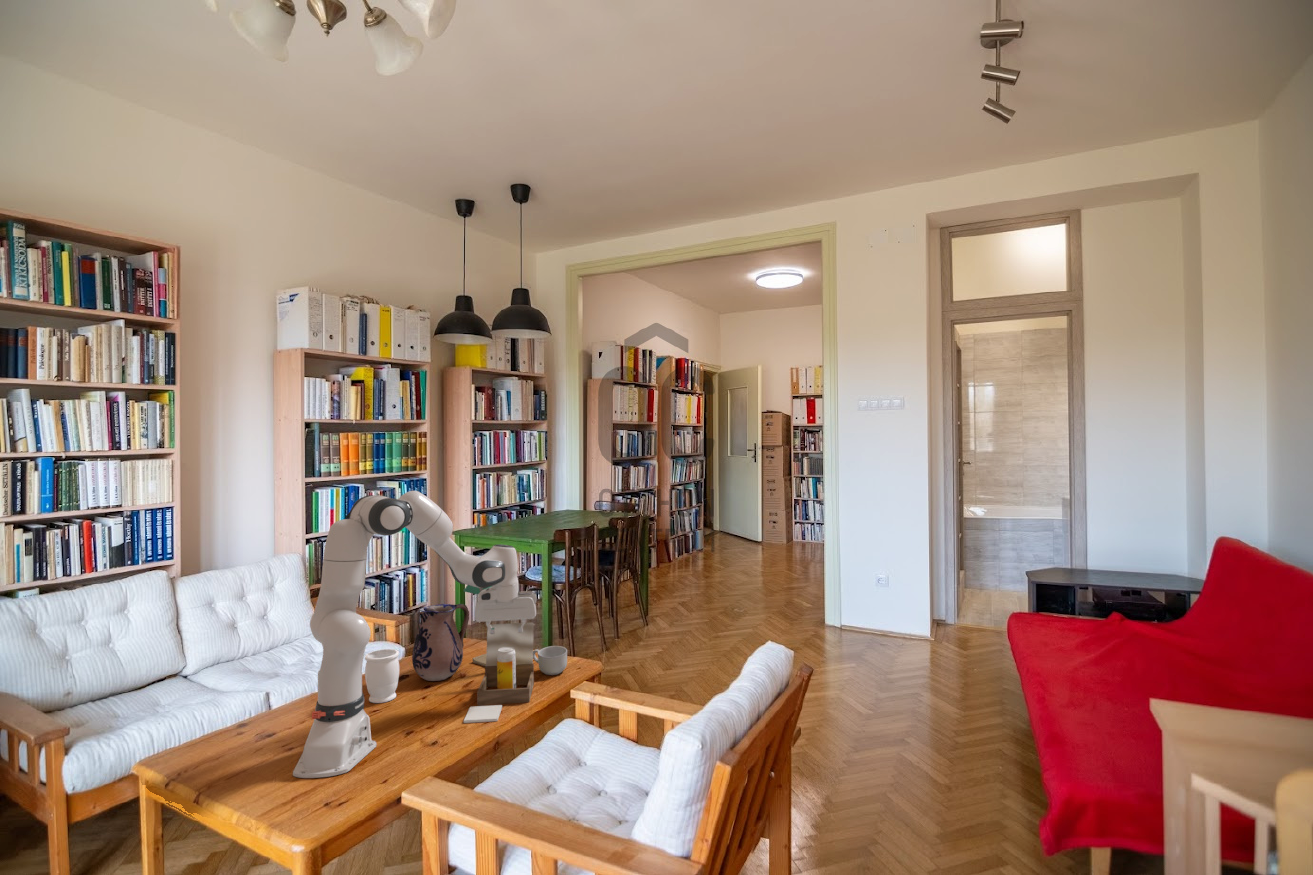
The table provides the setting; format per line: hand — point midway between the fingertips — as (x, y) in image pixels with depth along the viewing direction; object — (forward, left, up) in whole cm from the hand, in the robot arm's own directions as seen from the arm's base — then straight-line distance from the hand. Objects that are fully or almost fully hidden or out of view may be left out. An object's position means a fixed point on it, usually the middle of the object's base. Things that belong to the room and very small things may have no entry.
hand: (506, 632), depth 213 cm
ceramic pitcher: (+21, +26, -21) cm, 39 cm away
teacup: (+19, -13, -21) cm, 31 cm away
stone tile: (-16, +5, -21) cm, 27 cm away
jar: (+2, +41, -21) cm, 46 cm away
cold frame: (+2, 0, -21) cm, 21 cm away
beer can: (0, 0, -21) cm, 21 cm away
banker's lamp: (+30, +8, -21) cm, 37 cm away
